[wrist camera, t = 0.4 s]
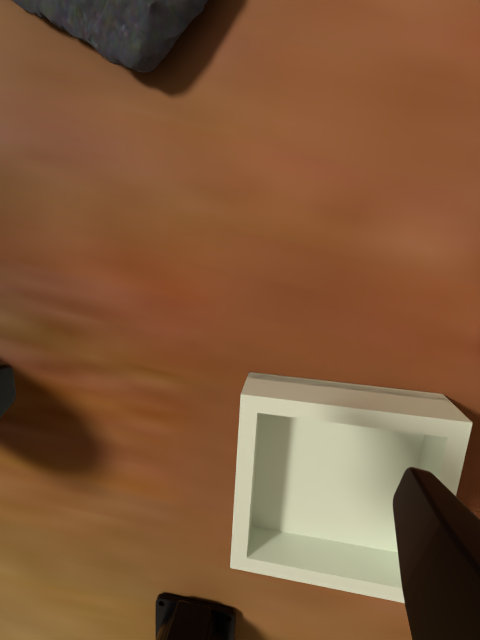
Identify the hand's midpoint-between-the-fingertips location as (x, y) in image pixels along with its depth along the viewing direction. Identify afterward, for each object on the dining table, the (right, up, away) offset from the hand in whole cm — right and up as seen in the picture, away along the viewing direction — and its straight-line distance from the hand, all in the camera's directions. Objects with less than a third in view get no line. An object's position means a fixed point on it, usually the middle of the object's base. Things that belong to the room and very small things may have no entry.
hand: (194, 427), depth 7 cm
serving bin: (+7, -7, +15) cm, 18 cm away
